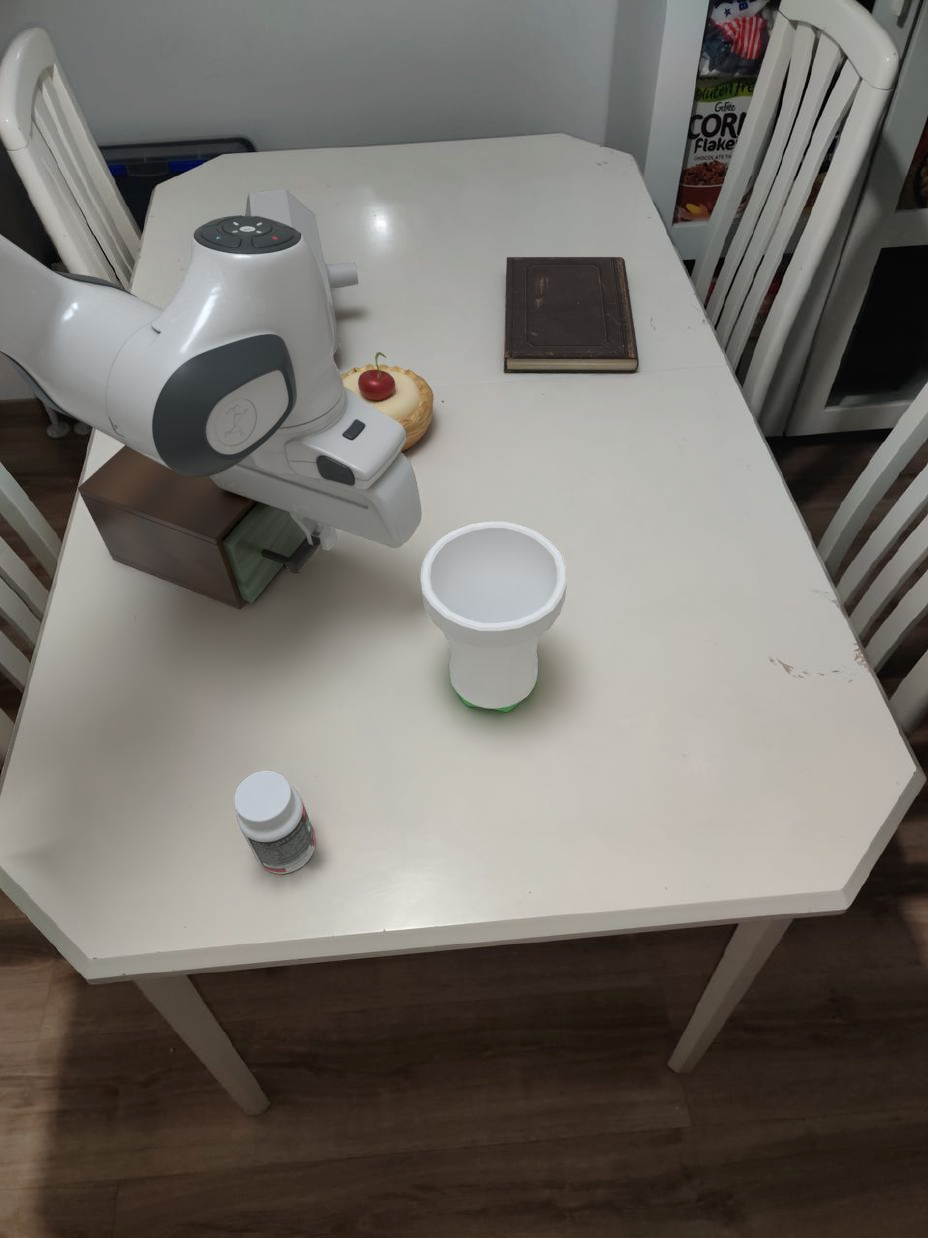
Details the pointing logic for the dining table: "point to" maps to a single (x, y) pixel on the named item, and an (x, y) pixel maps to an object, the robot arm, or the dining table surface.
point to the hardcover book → (568, 316)
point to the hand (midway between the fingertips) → (323, 543)
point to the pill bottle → (274, 822)
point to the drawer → (265, 548)
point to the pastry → (394, 396)
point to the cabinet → (166, 523)
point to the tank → (303, 220)
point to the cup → (493, 607)
